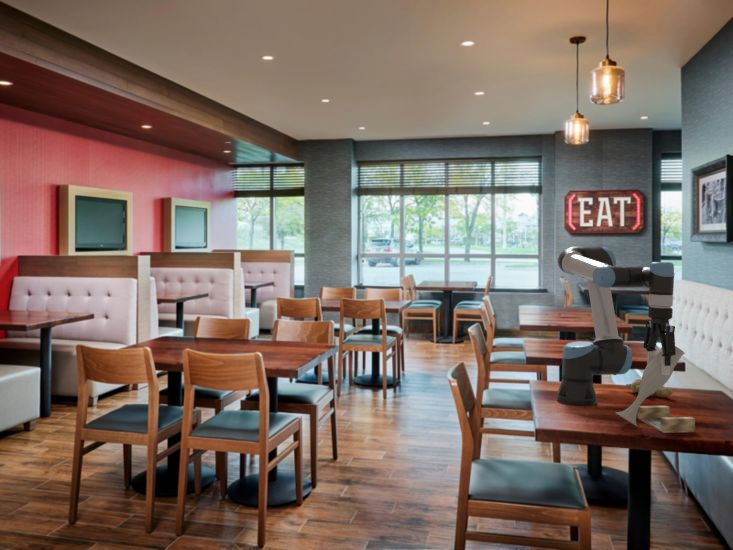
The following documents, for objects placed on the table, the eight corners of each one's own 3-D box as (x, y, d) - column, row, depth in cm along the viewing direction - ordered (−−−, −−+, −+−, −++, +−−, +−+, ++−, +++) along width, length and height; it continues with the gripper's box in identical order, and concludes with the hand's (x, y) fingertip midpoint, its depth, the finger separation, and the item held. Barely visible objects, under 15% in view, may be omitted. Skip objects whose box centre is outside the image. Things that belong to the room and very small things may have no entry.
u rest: (663, 432, 204) (664, 419, 203) (637, 418, 219) (637, 406, 219) (694, 432, 205) (695, 418, 205) (665, 418, 221) (666, 405, 220)
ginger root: (621, 385, 264) (627, 368, 263) (659, 396, 262) (665, 379, 260) (629, 395, 249) (635, 377, 248) (669, 407, 246) (675, 389, 245)
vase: (610, 409, 214) (657, 338, 214) (628, 422, 215) (675, 351, 215) (623, 417, 205) (672, 343, 206) (642, 429, 206) (691, 356, 207)
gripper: (689, 310, 199) (687, 378, 201) (653, 303, 220) (651, 366, 221) (668, 310, 199) (665, 379, 200) (634, 303, 219) (631, 366, 220)
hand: (658, 372), depth 210 cm, fingers closed on vase, 8 cm apart
